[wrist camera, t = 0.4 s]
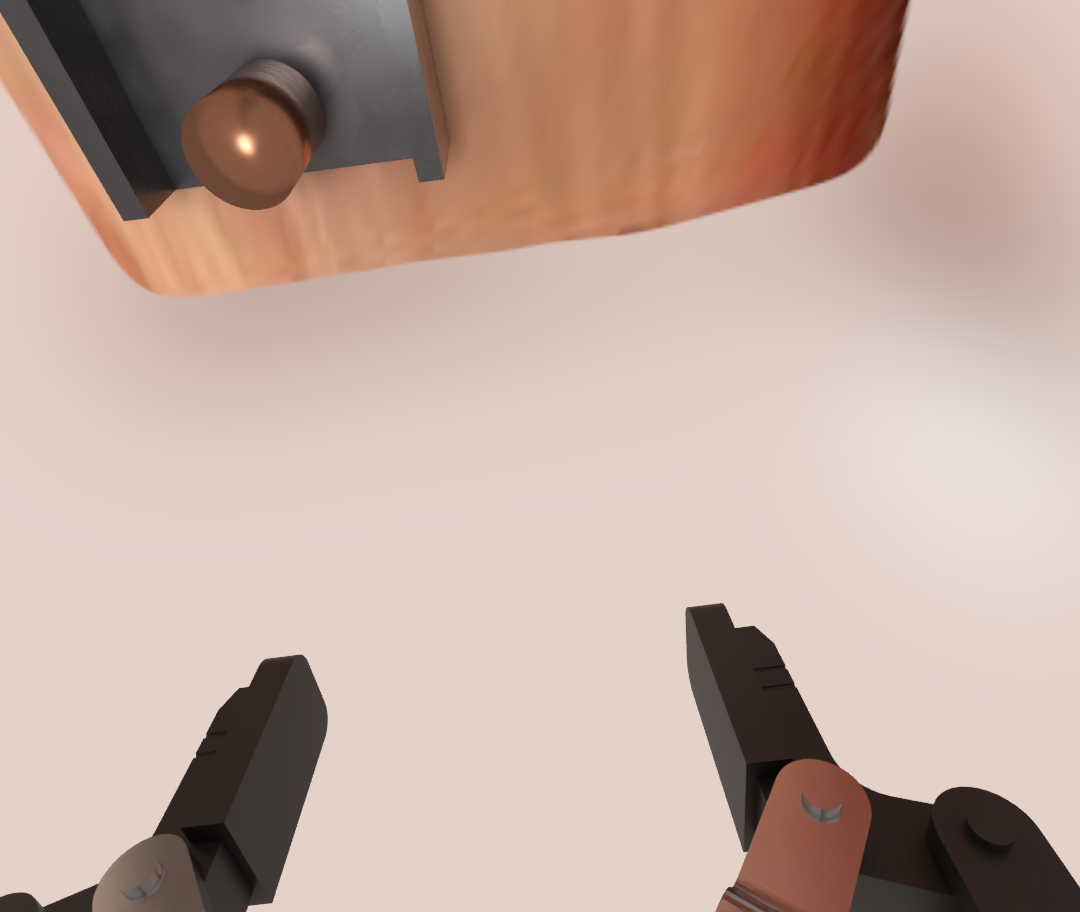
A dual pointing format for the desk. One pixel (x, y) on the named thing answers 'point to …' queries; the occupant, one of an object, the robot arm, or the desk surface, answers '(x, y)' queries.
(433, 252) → the desk surface
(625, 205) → the desk surface
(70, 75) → the dark grey tray
